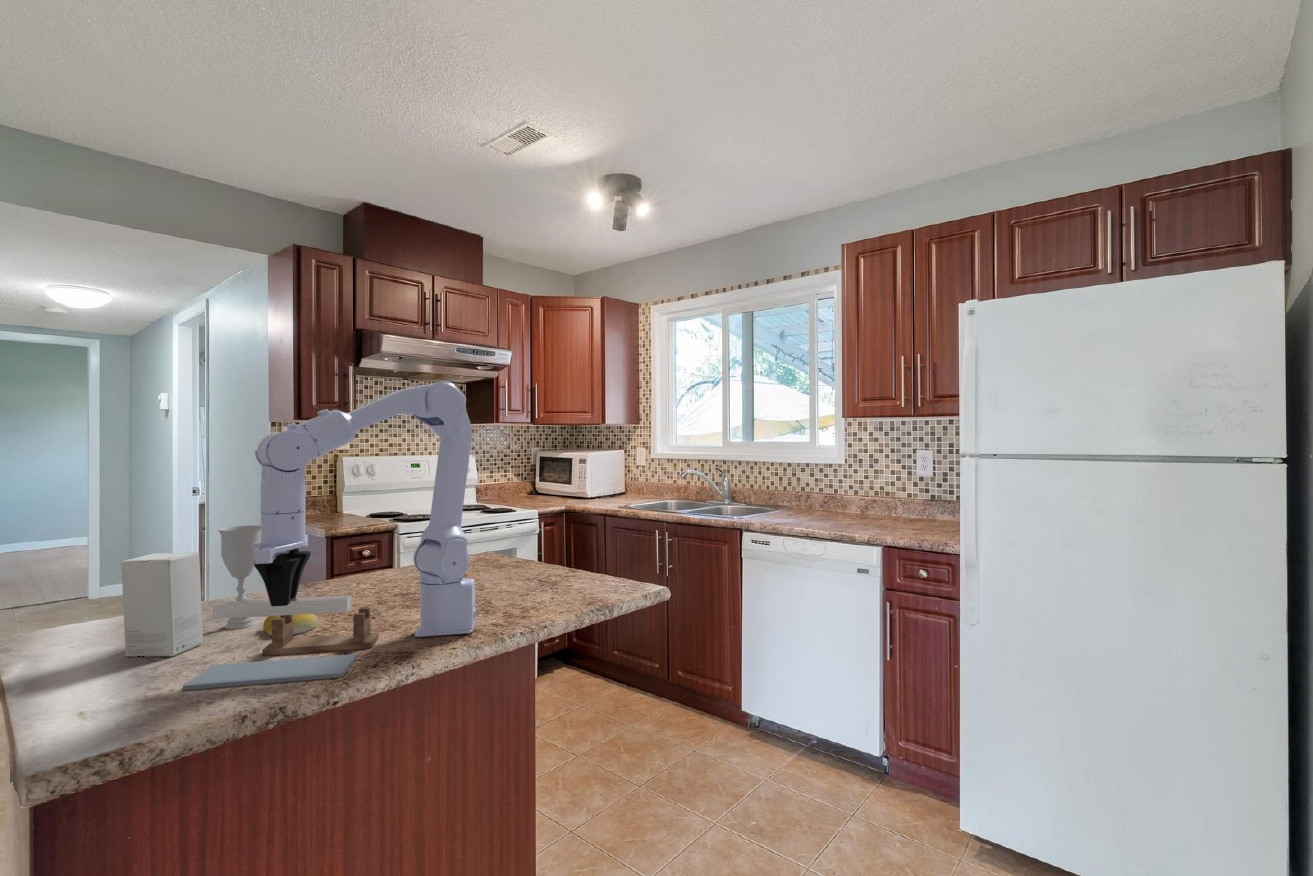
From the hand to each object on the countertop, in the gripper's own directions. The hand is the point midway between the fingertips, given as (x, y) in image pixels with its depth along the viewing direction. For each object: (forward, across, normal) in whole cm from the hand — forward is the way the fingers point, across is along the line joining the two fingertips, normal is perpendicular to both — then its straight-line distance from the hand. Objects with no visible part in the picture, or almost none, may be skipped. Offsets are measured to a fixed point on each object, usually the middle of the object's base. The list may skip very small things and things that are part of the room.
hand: (283, 603), depth 91 cm
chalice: (+10, -26, -16) cm, 32 cm away
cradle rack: (+10, -9, +3) cm, 14 cm away
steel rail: (+2, 0, 0) cm, 2 cm away
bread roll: (+10, -21, -7) cm, 24 cm away
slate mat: (+10, +2, 0) cm, 10 cm away
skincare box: (+10, -13, -22) cm, 28 cm away
